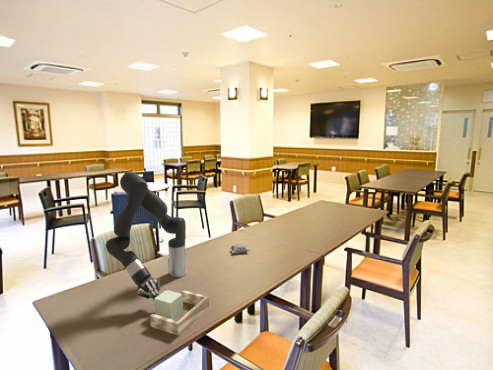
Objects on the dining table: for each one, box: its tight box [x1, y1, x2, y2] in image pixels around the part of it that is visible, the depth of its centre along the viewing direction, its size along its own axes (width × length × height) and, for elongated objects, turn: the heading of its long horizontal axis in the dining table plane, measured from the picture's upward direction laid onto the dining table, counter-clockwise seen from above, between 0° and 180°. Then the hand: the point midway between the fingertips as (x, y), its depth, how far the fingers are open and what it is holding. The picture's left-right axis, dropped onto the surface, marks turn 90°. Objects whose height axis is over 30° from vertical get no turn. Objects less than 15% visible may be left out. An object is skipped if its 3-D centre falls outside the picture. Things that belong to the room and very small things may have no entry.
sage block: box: [153, 289, 184, 320], centre depth 130 cm, size 9×8×8 cm
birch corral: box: [149, 289, 210, 337], centre depth 128 cm, size 14×22×5 cm, turn 155°
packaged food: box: [230, 243, 251, 255], centre depth 198 cm, size 9×12×5 cm
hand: (160, 302), depth 132 cm, fingers closed
